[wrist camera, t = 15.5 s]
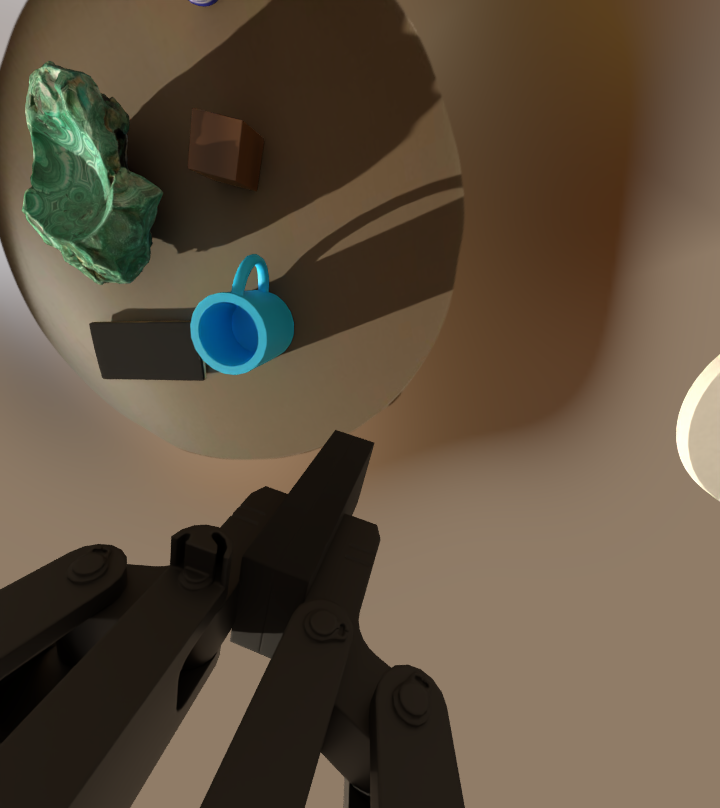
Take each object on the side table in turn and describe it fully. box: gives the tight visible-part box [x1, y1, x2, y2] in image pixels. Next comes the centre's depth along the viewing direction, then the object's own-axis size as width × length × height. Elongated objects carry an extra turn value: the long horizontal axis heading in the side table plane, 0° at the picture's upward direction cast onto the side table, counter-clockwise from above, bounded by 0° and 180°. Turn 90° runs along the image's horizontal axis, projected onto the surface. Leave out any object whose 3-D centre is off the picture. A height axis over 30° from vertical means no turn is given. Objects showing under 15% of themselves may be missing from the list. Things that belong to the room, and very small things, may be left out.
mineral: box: [22, 61, 163, 285], centre depth 39 cm, size 18×16×10 cm
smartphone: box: [89, 321, 206, 381], centre depth 48 cm, size 7×1×15 cm
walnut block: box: [188, 108, 264, 192], centre depth 38 cm, size 5×5×5 cm
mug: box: [190, 254, 294, 375], centre depth 41 cm, size 12×8×8 cm
